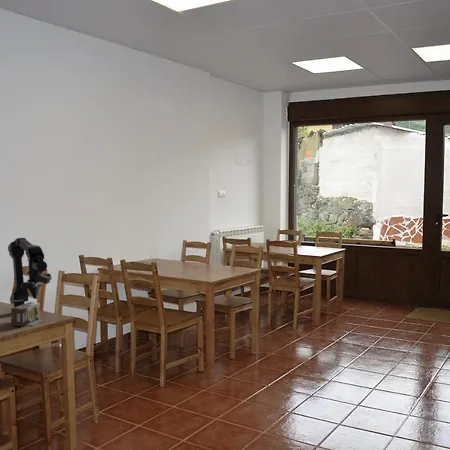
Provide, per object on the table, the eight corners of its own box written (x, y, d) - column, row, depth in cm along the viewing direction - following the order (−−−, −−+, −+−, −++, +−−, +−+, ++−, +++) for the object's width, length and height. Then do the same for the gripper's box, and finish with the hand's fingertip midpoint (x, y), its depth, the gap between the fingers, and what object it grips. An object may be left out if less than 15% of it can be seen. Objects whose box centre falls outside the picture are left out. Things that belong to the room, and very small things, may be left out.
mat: (25, 320, 289) (25, 319, 289) (42, 320, 288) (42, 319, 288) (16, 325, 278) (16, 324, 278) (32, 325, 277) (32, 324, 277)
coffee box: (39, 319, 290) (21, 327, 274) (29, 318, 291) (10, 325, 276) (40, 302, 289) (21, 309, 273) (29, 301, 290) (10, 308, 275)
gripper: (41, 272, 279) (42, 302, 280) (56, 267, 298) (56, 295, 299) (20, 272, 280) (21, 302, 281) (36, 267, 299) (37, 295, 300)
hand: (35, 298), depth 290 cm, fingers closed
